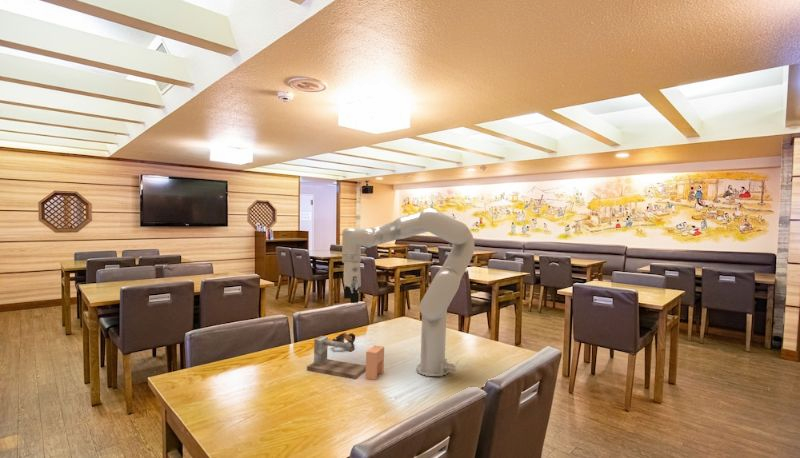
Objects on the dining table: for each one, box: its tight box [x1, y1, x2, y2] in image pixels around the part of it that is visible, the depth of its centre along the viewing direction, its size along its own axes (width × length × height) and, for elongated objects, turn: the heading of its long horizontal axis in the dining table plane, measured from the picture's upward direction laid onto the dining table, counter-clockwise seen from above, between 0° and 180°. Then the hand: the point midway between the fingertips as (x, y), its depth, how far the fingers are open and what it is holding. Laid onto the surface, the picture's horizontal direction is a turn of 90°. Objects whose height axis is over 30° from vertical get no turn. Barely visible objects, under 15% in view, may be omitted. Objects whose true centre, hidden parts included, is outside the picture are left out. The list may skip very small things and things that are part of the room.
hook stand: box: [306, 335, 366, 380], centre depth 149 cm, size 21×10×12 cm, turn 70°
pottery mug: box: [331, 332, 356, 353], centre depth 175 cm, size 12×10×8 cm
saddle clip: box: [365, 345, 385, 381], centre depth 145 cm, size 4×8×10 cm, turn 160°
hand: (351, 300), depth 156 cm, fingers open, 9 cm apart
